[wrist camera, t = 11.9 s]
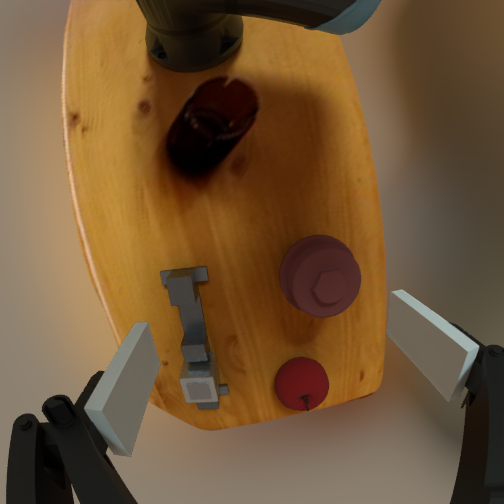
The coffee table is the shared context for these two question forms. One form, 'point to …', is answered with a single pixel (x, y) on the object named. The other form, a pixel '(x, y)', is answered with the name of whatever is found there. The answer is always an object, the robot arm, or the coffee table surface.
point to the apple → (301, 384)
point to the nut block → (200, 380)
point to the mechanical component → (320, 276)
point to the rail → (191, 317)
